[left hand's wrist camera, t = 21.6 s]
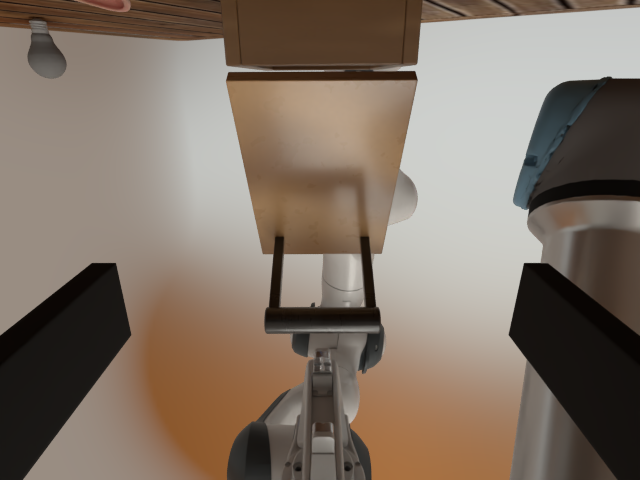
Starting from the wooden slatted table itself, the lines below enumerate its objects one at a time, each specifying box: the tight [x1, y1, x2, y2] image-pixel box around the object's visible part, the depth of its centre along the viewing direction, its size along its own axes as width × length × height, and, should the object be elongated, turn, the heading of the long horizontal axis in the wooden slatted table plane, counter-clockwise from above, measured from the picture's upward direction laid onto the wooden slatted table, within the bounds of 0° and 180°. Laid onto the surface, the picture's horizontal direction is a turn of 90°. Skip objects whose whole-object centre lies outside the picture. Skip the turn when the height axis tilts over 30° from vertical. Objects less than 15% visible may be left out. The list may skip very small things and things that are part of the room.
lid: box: [226, 71, 418, 334], centre depth 24 cm, size 15×10×8 cm
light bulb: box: [28, 18, 66, 78], centre depth 73 cm, size 6×6×10 cm
